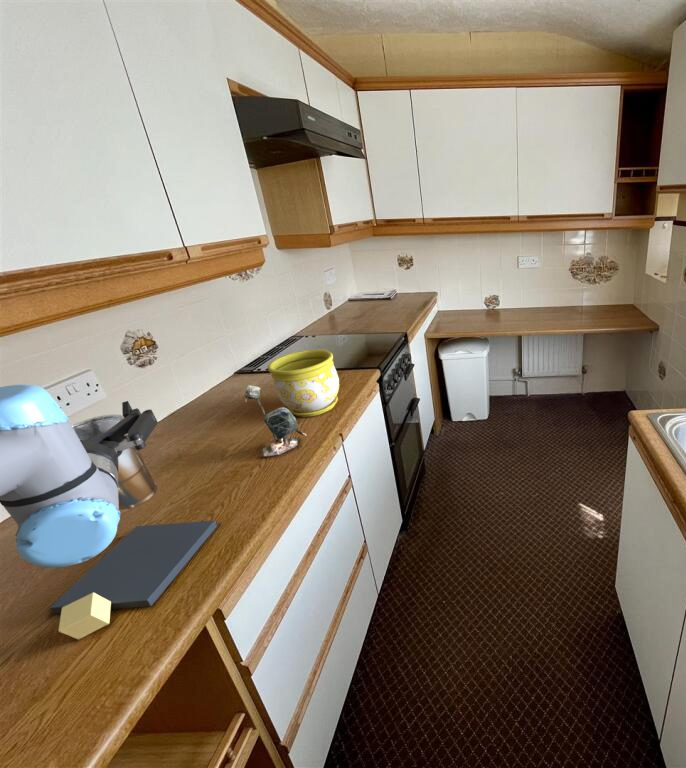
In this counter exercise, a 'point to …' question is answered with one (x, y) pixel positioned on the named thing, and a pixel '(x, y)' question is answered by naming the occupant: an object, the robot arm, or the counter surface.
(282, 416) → the decorative sculpture
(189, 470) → the counter surface
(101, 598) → the pale yellow cube
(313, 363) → the flowerpot
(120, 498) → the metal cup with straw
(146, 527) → the tray
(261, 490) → the counter surface
